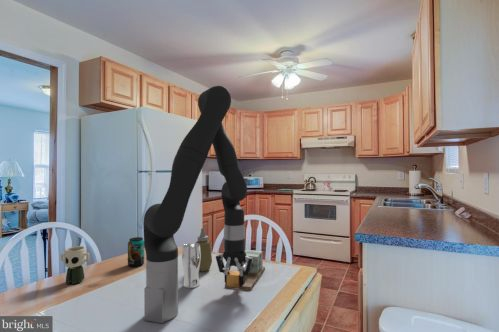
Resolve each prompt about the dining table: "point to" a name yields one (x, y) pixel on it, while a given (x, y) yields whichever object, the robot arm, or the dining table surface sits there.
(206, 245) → the squeeze bottle
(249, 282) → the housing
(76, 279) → the character mug
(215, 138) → the robot arm
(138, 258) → the beverage can
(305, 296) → the dining table surface
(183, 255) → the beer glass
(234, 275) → the shaft
